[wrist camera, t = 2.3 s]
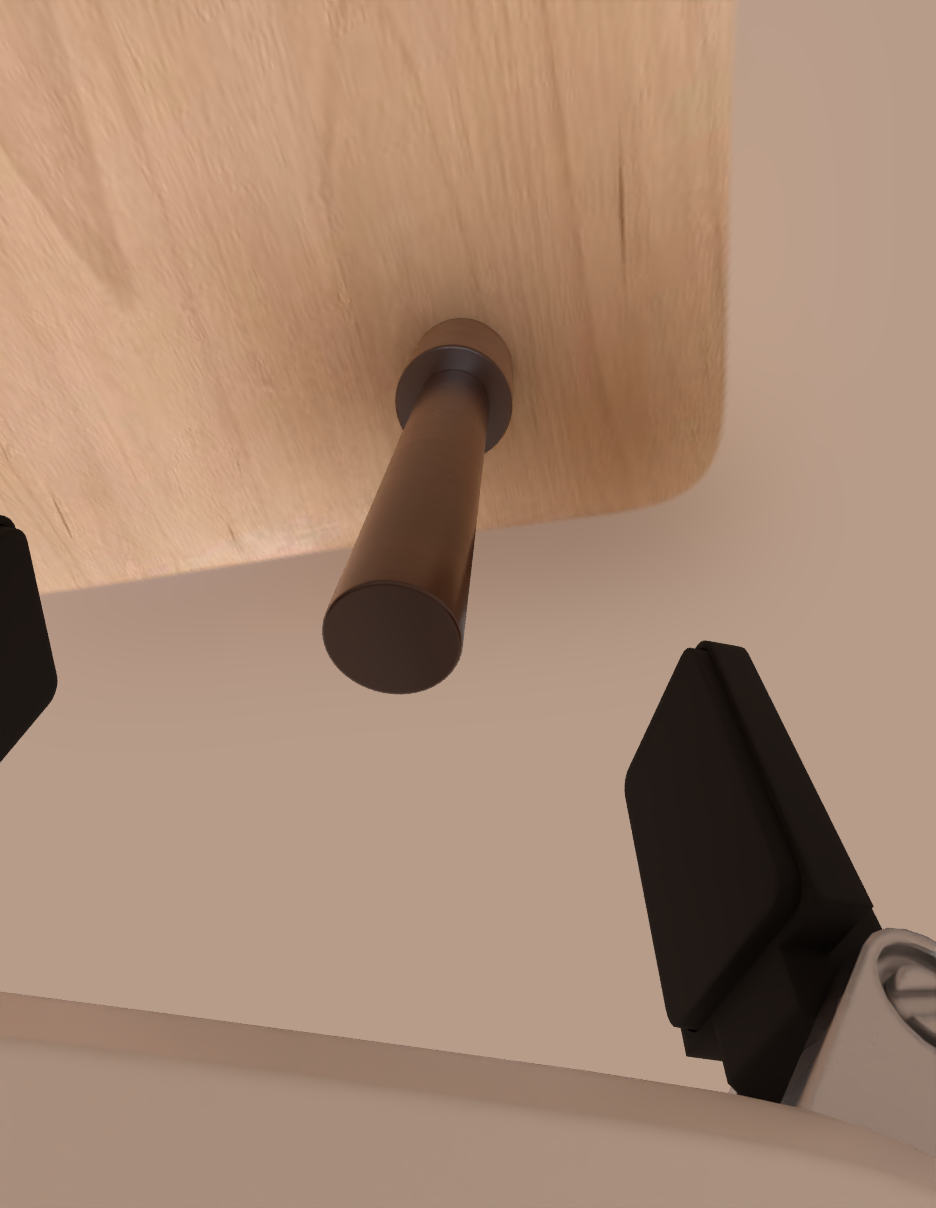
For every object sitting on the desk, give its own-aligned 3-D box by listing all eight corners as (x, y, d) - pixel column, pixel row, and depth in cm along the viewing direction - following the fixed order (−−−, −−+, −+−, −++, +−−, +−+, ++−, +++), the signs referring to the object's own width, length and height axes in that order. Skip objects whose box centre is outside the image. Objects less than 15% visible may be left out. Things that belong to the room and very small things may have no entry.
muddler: (523, 329, 23) (532, 565, 9) (501, 430, 25) (483, 743, 11) (419, 308, 22) (278, 517, 9) (406, 411, 24) (274, 706, 11)
